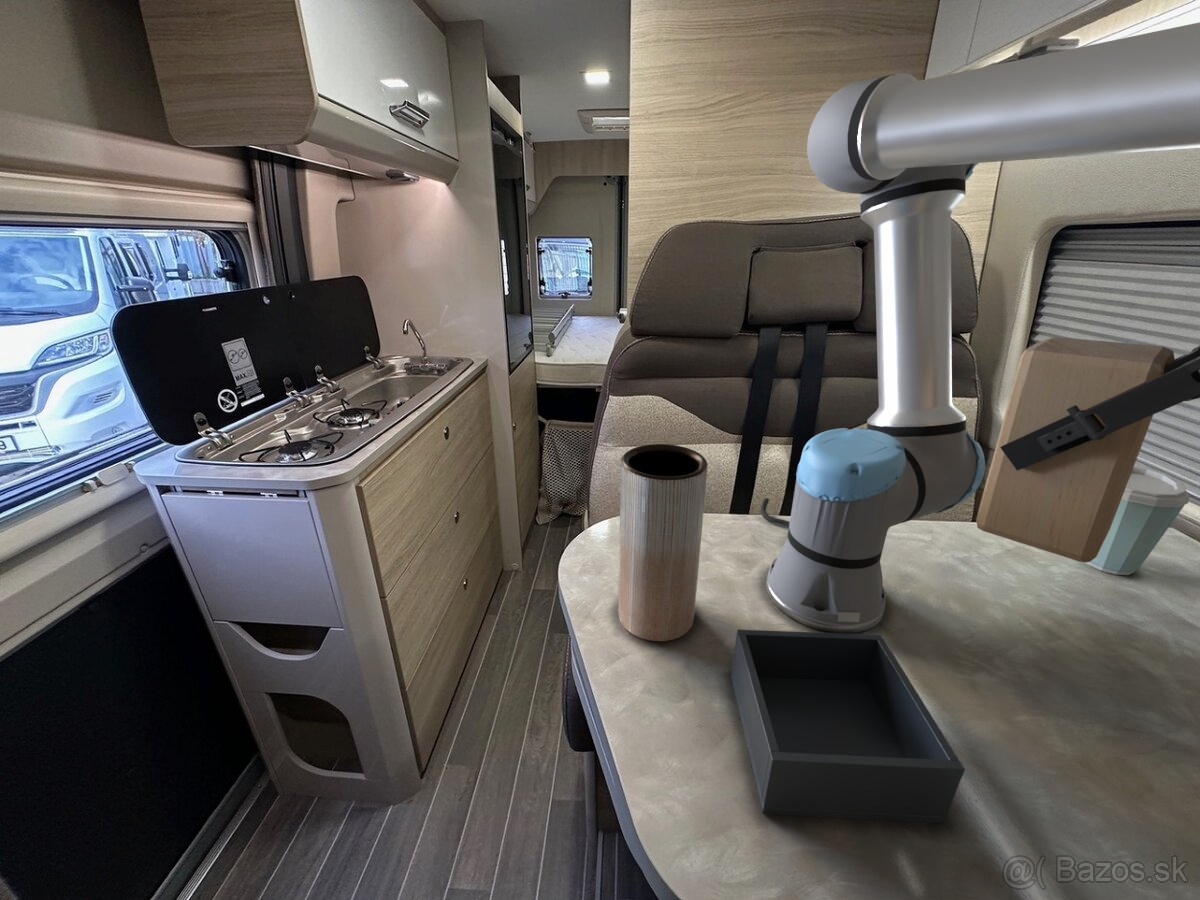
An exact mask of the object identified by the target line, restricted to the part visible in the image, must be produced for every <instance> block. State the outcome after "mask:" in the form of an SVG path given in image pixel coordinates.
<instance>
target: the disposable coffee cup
mask: <svg viewBox="0 0 1200 900" xmlns="http://www.w3.org/2000/svg"><path fill="white" fill-rule="evenodd" d="M1189 500H1190V495H1189V493H1188V492H1187V489H1186V487H1185V485H1184V483H1183V482H1182V481H1180V480H1178V479H1177V478H1175V477H1173V476H1172V475H1171V474H1168V473H1166V472H1163V471H1161V470H1157V469H1155V468H1152V467H1149V466H1144V465H1137V464H1135V465H1134V467H1133V470H1132V472H1131V475H1130V478H1129V480H1128V483H1127V486H1126V488H1125V491H1124V494H1123V496H1122V499H1121V501H1120V504H1119V507H1118V509H1117V512H1116V515H1115V517H1114V520H1113V522H1112V525H1111V528H1110V530H1109V532H1108V534H1107V536H1106V538H1105V540H1104V542H1103V545H1102V547H1101V549H1100V551H1099V553H1098V555H1097V557H1096V558H1094V559H1093V560H1092V561H1091V562H1085V564H1087V565H1088V566H1089V567H1091V568H1094V569H1096V570H1099V571H1101V572H1104V573H1108V574H1112V575H1117V576H1129V575H1132V574H1134V573H1135V572H1136V571H1138V570H1140V568H1141V567H1142V565H1143V564H1144V563H1145V562H1146V560H1147V559H1148V557H1149V556H1150V555H1151V553H1152V551H1154V549H1155V547H1156V546H1157V545H1158V543H1159V542H1160V540H1161V539H1162V537H1163V536H1165V534H1166V532H1167V531H1168V529H1169V528H1170V527H1171V525H1172V524H1173V522H1174V521H1175V519H1176V518H1177V517H1178V515H1179V514H1180V513H1181V511H1182V510H1183V508H1184V507H1185V505H1187V504H1189Z"/></svg>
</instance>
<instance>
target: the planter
mask: <svg viewBox="0 0 1200 900" xmlns="http://www.w3.org/2000/svg"><path fill="white" fill-rule="evenodd" d="M707 479H708V461H707V459H706V458H705V457H704V456H703V455H702V454H701V453H699V452H698V451H696V450H694V449H691V448H688V447H684V446H681V445H675V444H668V443H667V444H666V443H652V444H645V445H639V446H636V447H633V448H631V449H628V450H627V451H626V452H625V453H624V454H623V455H622V456H621V460H620V488H619V489H620V491H619V493H620V494H619V541H618V542H619V543H618V544H619V545H618V547H619V549H618V550H619V551H618V590H617V592H618V595H617V596H618V598H617V599H618V600H617V609H618V610H617V611H618V619H619V621H620V624H621V625H622V626H623V627H624V628H625V630H626V631H628V632H629V633H631V634H632V635H634V636H636V637H637V638H639V639H643V640H646V641H653V642H667V641H673V640H675V639H676V640H677V639H678V638H681V637H682V636H684V635H685V634H687V633H688V632H689V630H690V629H691V628H692V627H693V624H694V619H695V611H696V603H697V601H696V600H697V589H698V580H699V579H698V578H699V577H698V576H699V569H700V568H699V566H700V557H701V555H700V554H701V546H702V545H701V544H702V534H703V523H704V511H705V499H706V490H707V489H706V487H707Z"/></svg>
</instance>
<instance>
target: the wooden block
mask: <svg viewBox="0 0 1200 900" xmlns="http://www.w3.org/2000/svg"><path fill="white" fill-rule="evenodd" d="M1174 359H1176V357H1175V353H1174V350H1173V349H1171V348H1168V347H1166V346H1162V345H1151V344H1139V343H1128V342H1116V341H1106V340H1094V339H1084V338H1072V337H1062V336H1061V337H1060V336H1054V337H1049V338H1046V339H1044V340H1041V341H1040V342H1037V343H1035V344H1033V345H1031V346H1029V347H1027V348H1026V349H1025V350H1024V352H1023V353H1022V354H1021V355H1020V358H1019V362H1018V366H1017V369H1016V372H1015V376H1014V379H1013V382H1012V387H1011V391H1010V395H1009V398H1008V401H1007V406H1006V409H1005V413H1004V416H1003V420H1002V424H1001V427H1000V431H999V435H998V438H997V441H996V445H995V449H994V453H993V456H992V460H991V462H990V463H991V464H990V467H989V471H988V475H987V478H986V482H985V485H984V488H983V493H982V496H981V500H980V504H979V507H978V510H977V515H976V518H975V521H976V525H977V528H978V529H979V530H981V531H982V532H984V533H988V534H992V535H994V536H997V537H1001V538H1004V539H1007V540H1009V541H1010V540H1011V541H1013V542H1017V543H1020V544H1023V545H1026V546H1029V547H1033V548H1035V549H1038V550H1042V551H1045V552H1047V553H1051V554H1055V555H1057V556H1060V557H1063V558H1067V559H1070V560H1073V561H1076V562H1082V563H1086V562H1091V561H1092V560H1093V559H1094V558H1096V557H1097V555H1098V553H1099V551H1100V549H1101V547H1102V545H1103V542H1104V540H1105V538H1106V536H1107V534H1108V532H1109V530H1110V528H1111V525H1112V522H1113V520H1114V517H1115V515H1116V512H1117V509H1118V507H1119V504H1120V501H1121V499H1122V496H1123V494H1124V491H1125V488H1126V486H1127V483H1128V480H1129V478H1130V475H1131V472H1132V470H1133V467H1134V465H1136V462H1137V460H1138V457H1139V455H1140V451H1141V448H1142V446H1143V443H1144V440H1145V438H1146V436H1147V432H1148V430H1149V427H1150V425H1151V422H1152V420H1153V417H1154V415H1155V414H1153V415H1151V416H1149V417H1146V418H1144V419H1142V420H1140V421H1137V422H1135V423H1133V424H1130V425H1128V426H1126V427H1123V428H1121V429H1119V430H1116V431H1114V432H1112V433H1110V434H1107V435H1106V436H1105V437H1104V438H1102V439H1099V440H1098V439H1097V440H1090V441H1088V442H1085V443H1083V444H1081V445H1078V446H1076V447H1073V448H1071V449H1069V450H1066V451H1064V452H1061V453H1059V454H1056V455H1054V456H1052V457H1049V458H1047V459H1044V460H1042V461H1039V462H1037V463H1035V464H1032V465H1030V466H1027V467H1025V468H1023V469H1020V470H1018V471H1017V470H1016V468H1015V467H1014V466H1013V464H1012V463H1011V462H1010V460H1009V459H1008V458H1007V456H1006V455H1005V453H1004V452H1003V451H1002V449H1001V448H1000V447H1001V446H1003V445H1005V444H1007V443H1010V442H1012V441H1014V440H1016V439H1018V438H1021V437H1023V436H1025V435H1027V434H1029V433H1031V432H1034V431H1036V430H1038V429H1040V428H1042V427H1045V426H1047V425H1049V424H1051V423H1053V422H1055V421H1058V420H1060V419H1062V418H1064V417H1066V416H1069V415H1070V414H1069V412H1068V411H1067V410H1066V409H1068V408H1070V407H1072V406H1075V405H1076V406H1077V407H1078V408H1079V409H1080V410H1086V409H1088V408H1090V407H1093V406H1095V405H1097V404H1099V403H1101V402H1103V401H1105V400H1107V399H1110V398H1112V397H1114V396H1116V395H1118V394H1120V393H1123V392H1125V391H1127V390H1129V389H1131V388H1134V387H1136V386H1138V385H1140V384H1142V383H1144V382H1149V381H1151V380H1153V379H1155V378H1157V377H1160V376H1162V374H1163V373H1164V368H1165V366H1166V365H1167V364H1169V363H1171V362H1173V360H1174ZM1094 415H1095V416H1096V418H1097V419H1098V420H1099V421H1100V422H1101V424H1102V425H1103V426H1104V427H1105V426H1106V425H1105V423H1104V422H1103V421H1102V420H1101V418H1100V417H1099V416H1098V415H1096V414H1094Z"/></svg>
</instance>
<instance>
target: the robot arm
mask: <svg viewBox="0 0 1200 900" xmlns="http://www.w3.org/2000/svg"><path fill="white" fill-rule="evenodd" d="M806 143H807V144H806V152H807V159H808V162H809V166H810V168H811V171H812V172H813V174H814V176H815V177H816V178H817V179H818V181H820V183H822V184H823V185H825V186H826V188H828V189H832V190H834V191H836V192H840V193H847V194H855V195H856V194H857V195H859V207H860V208H859V209H860V220H861V221H862V222H864V223H865V224H867V225H868V226H869V227H871V229H872V230H873V246H874V247H873V248H874V249H873V250H874V253H873V254H874V277H875V278H874V281H875V282H874V283H875V285H874V287H875V316H876V317H875V320H876V323H875V325H876V353H877V354H876V355H877V356H876V357H877V389H878V390H877V391H878V392H877V393H878V395H877V396H878V407H877V409H876V410H875V411H874V413H872V415H870V417H868V418H867V419H866V428H862V427H861V428H860V427H855V428H853V429H849V428H848V427H847V428H846V427H842V428H841V427H840V428H833V429H829V430H825V431H823V432H820V433H817V434H816V435H814V436H813V437H811V438H810V439H809V440H808V441H807V442H806V443H805V445H804V446H803V449H802V452H801V456H800V460H799V463H798V464H797V469H796V473H795V475H796V479H795V484H794V491H793V497H792V498H793V499H792V505H791V511H790V518H789V521H788V520H785V519H781V518H777V517H773V516H771V515H769V514H768V513H767V506H768V504H769V502H770V499H769V498H768V497H765V498H764V499H763V501H762V502H761V505H760V514H761V516H762V518H763V519H764V520H766V521H767V522H770V523H773V524H777V525H782V526H786V527H788V531H787V536H786V540H785V541H784V543H783V544H782V546H781V548H780V550H779V552H778V554H777V557H775V559H774V560H773V561H772V562H771V564H770V566H769V568H768V572H767V574H766V575H767V576H766V581H765V582H766V583H765V585H766V586H765V588H766V592H767V595H768V597H769V598H770V600H771V601H772V603H773V604H774V605H775V606H776V607H777V608H778V609H779V610H780V611H781V612H782V613H784V614H786V615H787V616H788V617H789V618H791V619H793V620H795V621H797V622H799V623H801V624H803V625H806V626H808V627H811V628H814V629H816V630H820V631H825V632H828V633H844V634H856V633H862V632H864V631H867V630H870V629H872V628H874V627H876V625H878V624H880V622H881V620H882V619H883V615H884V611H885V608H886V591H885V587H884V586H883V585H884V584H883V583H884V581H883V572H882V565H881V558H882V555H883V550H884V547H885V543H886V538H887V535H888V531H889V529H890V528H892V527H894V526H898V525H899V524H903V523H906V522H910V521H914V520H916V519H919V518H922V517H925V516H928V515H932V514H939V513H942V512H943V513H944V512H946V511H948V510H950V509H953V508H954V507H956V506H957V505H959V504H961V503H963V502H965V501H966V500H968V499H969V498H970V497H972V496H973V495H974V494H975V493H976V491H977V490H978V488H979V487H980V485H981V484H982V481H983V478H984V475H985V470H986V461H985V455H984V454H985V453H984V452H983V449H982V446H981V445H980V443H979V442H977V441H975V440H974V436H973V435H972V434H971V433H970V432H968V431H967V416H966V414H964V413H963V412H961V411H960V410H959V409H958V408H957V407H956V406H955V405H954V404H953V370H952V369H953V367H952V365H953V364H952V363H953V361H952V360H953V359H952V357H953V356H952V355H953V353H952V351H953V349H952V347H953V346H952V214H953V212H954V210H955V209H956V208H957V207H958V206H959V205H960V204H961V202H962V201H963V200H965V198H966V193H967V191H966V187H967V186H966V185H967V184H966V181H967V180H968V179H969V178H970V177H971V176H972V175H973V173H974V171H973V170H974V168H975V167H976V166H977V165H979V164H986V163H999V162H1001V163H1002V162H1013V161H1015V162H1016V161H1028V160H1042V159H1056V158H1070V157H1086V156H1097V155H1098V156H1099V155H1112V154H1127V153H1143V152H1155V151H1171V150H1184V149H1185V150H1186V149H1197V148H1198V149H1199V148H1200V22H1194V23H1189V24H1185V25H1180V26H1175V27H1171V28H1165V29H1161V30H1157V31H1151V32H1147V33H1141V34H1138V35H1137V34H1136V35H1133V36H1128V37H1122V38H1117V39H1113V40H1107V41H1103V42H1099V43H1094V44H1088V45H1084V46H1079V47H1075V48H1074V47H1073V48H1070V49H1065V50H1060V51H1055V52H1050V53H1046V54H1040V55H1036V56H1032V57H1026V58H1021V59H1017V60H1012V61H1007V62H1003V63H998V64H993V65H988V66H983V67H979V68H974V69H969V70H964V71H959V72H955V73H950V74H944V75H940V76H935V77H931V78H926V79H921V80H920V79H919V80H918V79H917V78H916V77H915V75H914V76H913V75H912V74H910V73H906V72H897V73H892V74H889V75H884V76H879V77H874V78H868V79H863V80H859V81H854V82H852V83H849V84H847V85H845V86H844V87H842V88H840V89H838V90H837V91H835V93H833V94H832V95H830V97H829V98H827V100H826V101H825V102H824V103H823V104H822V105H821V107H820V109H818V112H817V113H816V115H815V117H814V119H813V120H812V123H811V125H810V129H809V132H808V135H807V142H806ZM1197 399H1200V344H1199V345H1198V346H1195V347H1194V348H1192V349H1191V351H1189V352H1186V353H1185V354H1183V355H1180V356H1179V357H1176V358H1175V359H1174V360H1173V362H1171V363H1169V364H1167V365H1166V366H1165V368H1164V373H1163V374H1162V376H1160V377H1157V378H1155V379H1153V380H1151V381H1149V382H1144V383H1142V384H1140V385H1138V386H1136V387H1134V388H1131V389H1129V390H1127V391H1125V392H1123V393H1120V394H1118V395H1116V396H1114V397H1112V398H1110V399H1107V400H1105V401H1103V402H1101V403H1099V404H1097V405H1095V406H1093V407H1090V408H1088V409H1086V410H1080V409H1079V408H1078V407H1077V406H1076V405H1075V406H1072V407H1070V408H1068V409H1066V410H1067V411H1068V412H1069V414H1070V415H1069V416H1066V417H1064V418H1062V419H1060V420H1058V421H1055V422H1053V423H1051V424H1049V425H1047V426H1045V427H1042V428H1040V429H1038V430H1036V431H1034V432H1031V433H1029V434H1027V435H1025V436H1023V437H1021V438H1018V439H1016V440H1014V441H1012V442H1010V443H1007V444H1005V445H1003V446H1001V447H1000V448H1001V449H1002V451H1003V452H1004V453H1005V455H1006V456H1007V458H1008V459H1009V460H1010V462H1011V463H1012V464H1013V466H1014V467H1015V468H1016V470H1017V471H1018V470H1020V469H1023V468H1025V467H1027V466H1030V465H1032V464H1035V463H1037V462H1039V461H1042V460H1044V459H1047V458H1049V457H1052V456H1054V455H1056V454H1059V453H1061V452H1064V451H1066V450H1069V449H1071V448H1073V447H1076V446H1078V445H1081V444H1083V443H1085V442H1088V441H1090V440H1097V439H1098V440H1099V439H1102V438H1104V437H1105V436H1106V435H1107V434H1110V433H1112V432H1114V431H1116V430H1119V429H1121V428H1123V427H1126V426H1128V425H1130V424H1133V423H1135V422H1137V421H1140V420H1142V419H1144V418H1146V417H1149V416H1151V415H1153V414H1154V415H1156V414H1158V413H1160V412H1162V411H1164V410H1167V409H1169V408H1172V407H1174V406H1177V405H1179V404H1181V403H1183V402H1190V401H1194V400H1197ZM1094 414H1096V415H1098V416H1099V417H1100V418H1101V420H1102V421H1103V422H1104V423H1105V425H1106V426H1105V427H1104V426H1103V425H1102V424H1101V422H1100V421H1099V420H1098V419H1097V418H1096V416H1095V415H1094ZM1154 415H1153V416H1154Z"/></svg>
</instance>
